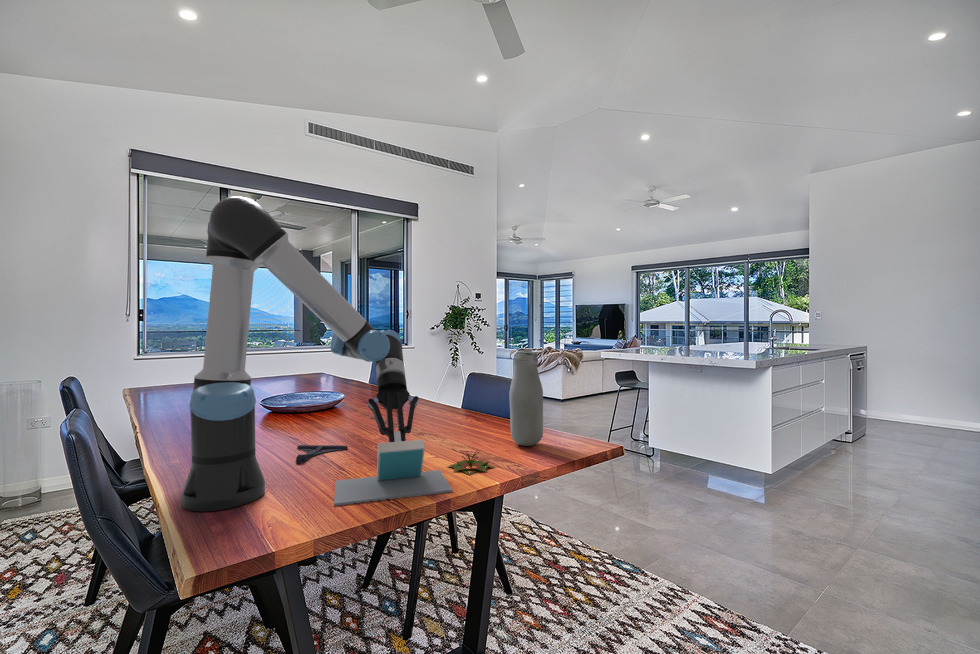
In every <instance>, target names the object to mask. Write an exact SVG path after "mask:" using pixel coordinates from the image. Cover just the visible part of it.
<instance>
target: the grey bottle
mask: <svg viewBox="0 0 980 654" xmlns="http://www.w3.org/2000/svg"><path fill="white" fill-rule="evenodd" d="M512 361H513V375H512V378H511V382H510V385H509V387H510V388H509V396H508V397H509V398H508V400H509V418H510V419H509V420H510V422H509V425H510V427H509V428H510V436H511V439H512V440H513V442H514V443H515V444H517V445H519V446H523V447H524V446H525V447H532V446H535V445H538V444H539V442H541V440H542V438H543V437H544V390H543V384H542V381H541V378H540V374H539V369H538V364H539V360H538V353H536V352H535V351H532V350H530V349H529V350H526V349H525V350H524V349H523V350H518V351H516V352H515V353H514V354H513V360H512Z"/></svg>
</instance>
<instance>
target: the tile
mask: <svg viewBox="0 0 980 654" xmlns="http://www.w3.org/2000/svg"><path fill="white" fill-rule="evenodd" d="M424 441H425V440H424V439H414V440H413V439H412V440H406V441H400V442H389V441H388V442H379V443H377V450H376V451H377V452H376V453H377V455H376V456H377V457H376V458H377V459H376V476H377V481H381V480H391V479H400V478H410V477H419V476H421V474H422V472H423V465H424V457H425V449H426V448H425V442H424Z"/></svg>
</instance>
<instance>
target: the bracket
mask: <svg viewBox="0 0 980 654" xmlns="http://www.w3.org/2000/svg"><path fill="white" fill-rule="evenodd" d="M348 448H349V446H348V445H339V444H338V445H337V444H336V445H334V444H333V445H332V444H331V445H329V444H328V445H325V444H324V445H323V444H322V445H321V444H320V445H319V444H305V445H304V444H299V445H297V448H296V450H297V449H299V450H298V451H301V450H304V451H303V452H305V451H306V452H305V453H306V454H297V456H296V460H295V464H297V465H302V464H303V463H304V461H305V462H306V461H308V460H310V459H311V458H312V456H313V457H315V456H319V455H323V454H327V452H328V453H333V452H334V451H335V452H341V451H346V450H348ZM313 449H315V450H313ZM322 450H323V451H322ZM335 452H334V453H335ZM322 453H323V454H322ZM310 457H311V458H310ZM309 458H310V459H309ZM307 459H308V460H307ZM302 462H303V463H302ZM301 463H302V464H301Z"/></svg>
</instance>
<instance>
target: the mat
mask: <svg viewBox="0 0 980 654" xmlns="http://www.w3.org/2000/svg"><path fill="white" fill-rule="evenodd" d="M334 487H335V489H334V498H333V506H334V507H337V506H338V507H339V506H346V504H348V505H353V504H354V503H356V504H362V502H365V503H371V502H370V501H373V502H379V501H378V500H381V501H387V500H386V499H390V500H395V499H394V498H398V499H403V498H402V497H407V498H414V496H415V497H423V496H422V495H424V496H430V495H439V494H448V493H452V492H453V489H452V487H451V485H450V484H449V483H448V481H447V479H446V477H445V476H444V474H443V472H442V471H441V469H435V470H426V471H425V470H424V471H422V474H421V476H419V477H410V478H400V479H391V480H381V481H377V475H376V476H369V477H368V476H367V477H359V478H349V479H337V480H335V486H334ZM354 505H355V504H354Z"/></svg>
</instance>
